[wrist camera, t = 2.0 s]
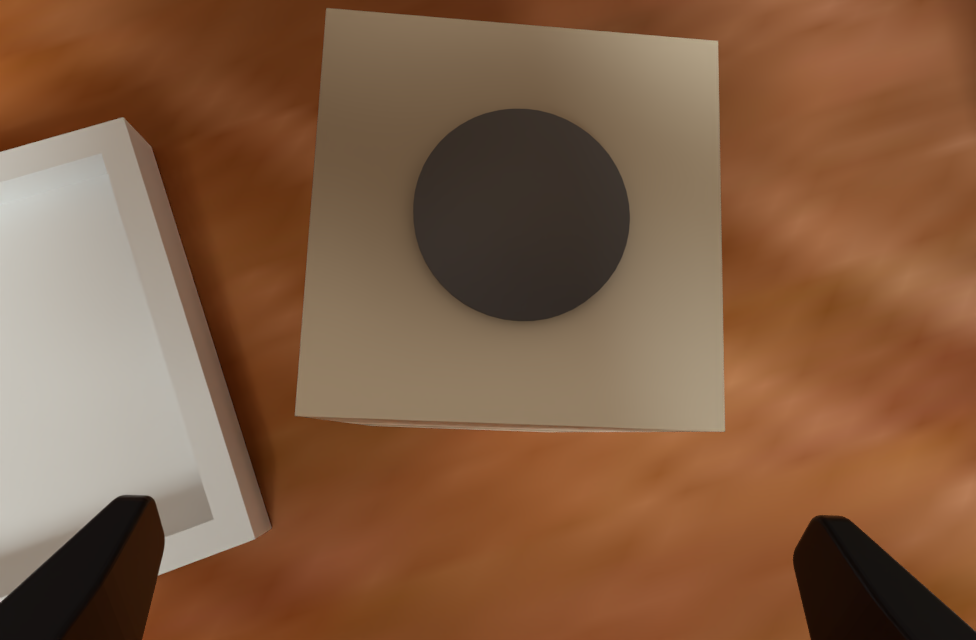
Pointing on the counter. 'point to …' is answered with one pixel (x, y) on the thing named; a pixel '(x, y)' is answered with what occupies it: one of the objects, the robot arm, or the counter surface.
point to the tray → (108, 360)
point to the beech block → (513, 229)
